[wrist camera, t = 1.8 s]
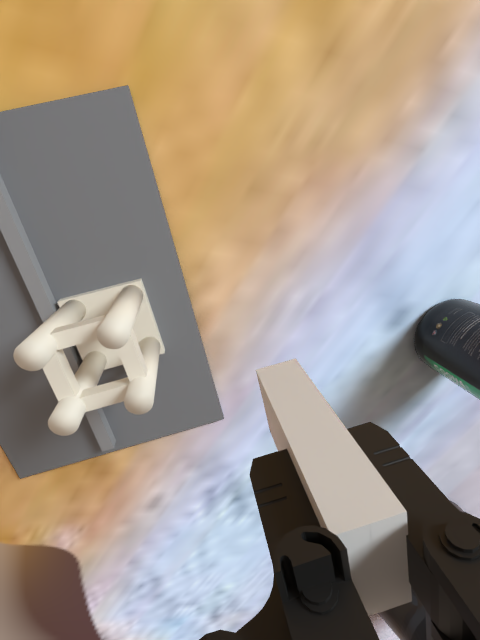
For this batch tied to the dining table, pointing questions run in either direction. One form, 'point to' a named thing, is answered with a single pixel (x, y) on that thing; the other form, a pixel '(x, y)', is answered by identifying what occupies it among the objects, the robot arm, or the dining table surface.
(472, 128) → the dining table surface
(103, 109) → the board
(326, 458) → the robot arm
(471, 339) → the supplement bottle
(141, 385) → the stool
